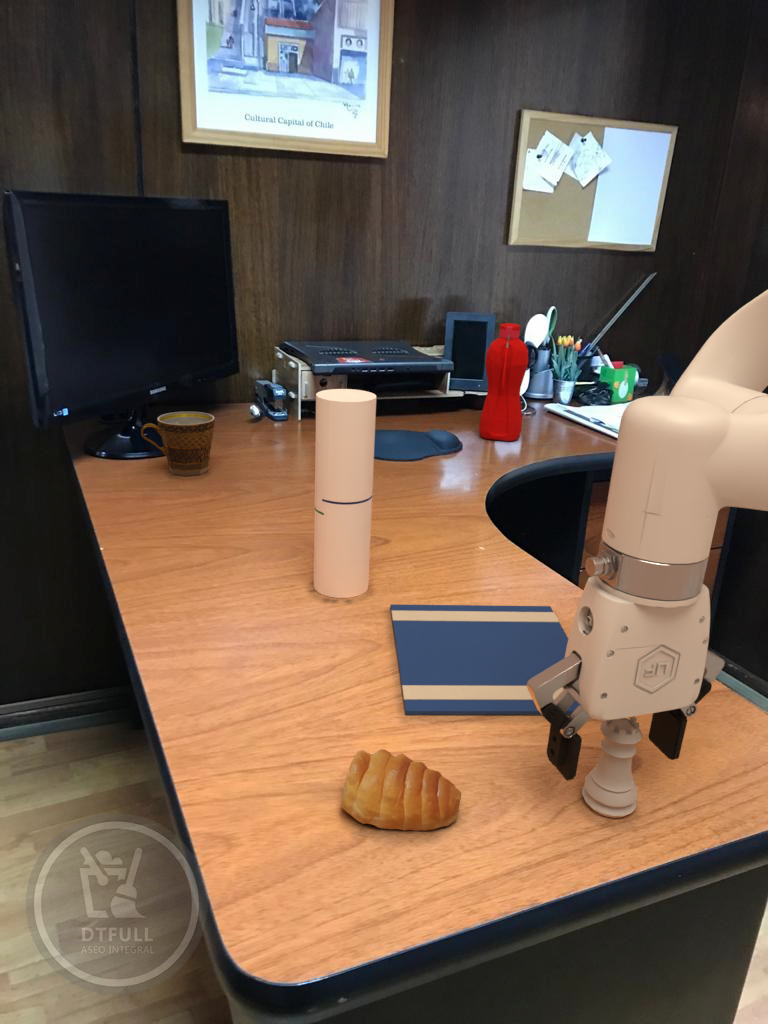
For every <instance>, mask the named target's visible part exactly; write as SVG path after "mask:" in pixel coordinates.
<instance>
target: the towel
mask: <svg viewBox="0 0 768 1024" xmlns="http://www.w3.org/2000/svg"><path fill="white" fill-rule="evenodd" d="M389 609H390V615H391V623H392V629H393V630H392V631H393V636H394V644H395V651H396V657H397V664H398V665H397V666H398V672H399V679H400V686H401V694H402V700H403V707H404V714H405V715H406V716H543V715H542V714H541V713H540V712H539V711H538V709H537V708H536V707H535V706H534V701H533V700H532V697H531V695H530V693H529V691H528V688H527V682H528V680H530V679H531V678H533V677H534V676H536V675H537V674H539V673H541V672H542V671H544V670H546V669H547V668H549V667H551V666H552V665H554V664H556V663H557V662H559V661H561V660H562V659H564V657H565V652H566V647H567V643H568V638H569V636H567V633H566V632H565V630H564V628H563V626H562V625H561V622H560V620H559V618H558V616H557V615H556V612H554V610H553V608H552V607H551V605H485V604H484V605H483V604H481V605H479V604H477V605H476V604H475V605H474V604H473V605H472V604H471V605H469V604H392V603H391V604H390V608H389ZM563 690H564V688H563V687H561V688H560V689H558V690H557V691H555V692H554V694H553V700H555V699H556V698H557V697H558V695H559V694H560V693H561V692H562V691H563ZM579 705H580V704H579V703H578V702H577V701H575V702H574V703H573V704H572V705H571V706H570V707H569V708H568V709H567V711H566V712H565V714H566V715H567V716H570V715H571V714H572V713H573V712H574V711H575V709H576V708H577V707H578V706H579ZM405 715H404V716H405Z"/></svg>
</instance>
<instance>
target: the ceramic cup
mask: <svg viewBox="0 0 768 1024" xmlns="http://www.w3.org/2000/svg"><path fill="white" fill-rule="evenodd" d="M156 421H157V424H154V423H152V422H151V423H150V422H149V423H145V424H144V425H143V426H142V427H141V429H140V435H141V437H142V438H143V439H144V440H145V441H147V442H148V443H149V444H152V445H153V446H155V447H156V448H157V449H158V450H159V451H161V452H162V454H163V455H164V456H165V457H166V460H167V465H168V468H169V472H170V473H171V475H173V476H179V477H184V478H187V477H196V476H201V475H203V474H205V473H207V472H208V470H209V464H210V458H211V451H212V441H213V437H214V431H215V424H216V423H215V421H216V418H215V416H214V415H212V414H210V413H207V412H203V411H202V412H201V411H189V410H188V411H174V412H168V413H164V414H163V413H162V414H160V415H159V416H157V418H156ZM147 428H152V429H154V430H155V431H156V432H157V433H158V434H159V436H160V437H161V440H162V444H163V446H160V445H158V444H157V443H156V442H154V441H153V440H151V439H150V438H148V437H146V436H145V434H144V430H145V429H147Z"/></svg>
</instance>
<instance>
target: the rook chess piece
mask: <svg viewBox="0 0 768 1024" xmlns="http://www.w3.org/2000/svg"><path fill="white" fill-rule="evenodd" d="M637 720H638V719H637V718H636V716H634V717H629V718H622V719H616V720H608V721H602V723H600V728H599V729H600V731H601V733H602V735H603V738H602V739H601V740H600V747H601V753H600V755H599V758H598V761H597V764H596V765H595V766H594V767H593V768H592V769H591V771H590V772H589V773H588V774H587V775H586V776H585V778H584V784H583V786H582V790H581V795H582V797H583V799H584V801H585V803H586V804H587V806H588V807H589V808H590V809H591V810H592V811H594V813H597V814H599V815H601V816H603V817H607V818H611V819H618V818H619V819H621V818H625V817H626V816H628V815H630V814H632V813H634V811H635V810H636V808H637V805H638V800H637V799H638V786H637V784H636V783H635V778H634V777H633V773H632V767H633V766H632V763H633V757H634V756H635V755H636V754H637V747H636V746H635V745H637V744H638V743H640V742H641V740H642V739H643V733H642V731H641V729H640V722H637Z"/></svg>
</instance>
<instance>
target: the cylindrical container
mask: <svg viewBox="0 0 768 1024" xmlns="http://www.w3.org/2000/svg"><path fill="white" fill-rule="evenodd" d="M376 415H377V395H376V394H375V393H373V392H370V391H368V390H367V391H366V390H362V389H355V388H354V389H352V388H332V389H323V390H320V391H318V392H316V393H315V440H314V441H315V445H314V450H315V451H314V453H315V454H314V517H313V518H314V520H313V521H314V522H313V523H314V524H313V525H314V527H313V528H314V529H313V531H314V533H313V539H314V540H313V588H314V590H315V592H317V593H318V594H320V595H322V596H325V597H329V598H335V599H349V598H350V599H351V598H355V597H356V598H357V597H358V596H362V595H364V594H365V593H366V592H367V591H368V590H369V585H370V564H371V563H370V562H371V561H370V560H371V539H372V538H371V537H372V536H371V535H372V533H371V532H372V514H373V493H374V492H373V491H374V490H373V489H374V467H375V466H374V465H375V464H374V463H375V444H376V443H375V439H376V419H377V418H376Z"/></svg>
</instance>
